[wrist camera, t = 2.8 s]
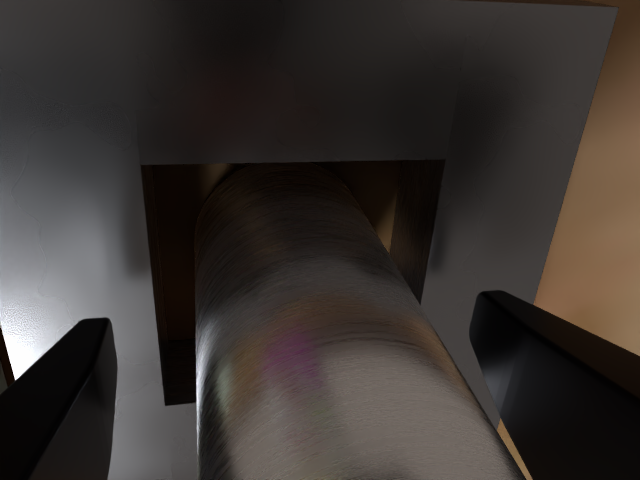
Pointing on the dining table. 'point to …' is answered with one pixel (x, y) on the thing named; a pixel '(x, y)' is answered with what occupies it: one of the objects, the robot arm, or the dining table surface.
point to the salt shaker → (321, 346)
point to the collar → (275, 159)
